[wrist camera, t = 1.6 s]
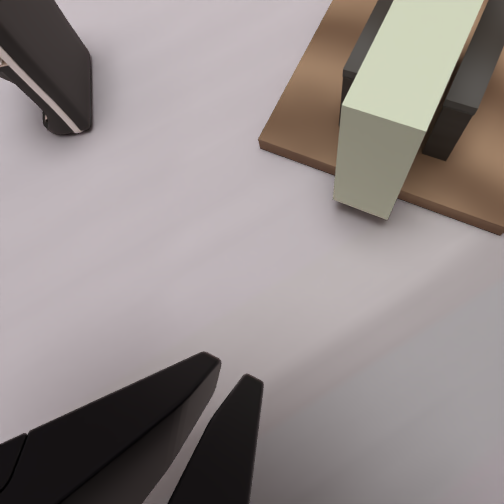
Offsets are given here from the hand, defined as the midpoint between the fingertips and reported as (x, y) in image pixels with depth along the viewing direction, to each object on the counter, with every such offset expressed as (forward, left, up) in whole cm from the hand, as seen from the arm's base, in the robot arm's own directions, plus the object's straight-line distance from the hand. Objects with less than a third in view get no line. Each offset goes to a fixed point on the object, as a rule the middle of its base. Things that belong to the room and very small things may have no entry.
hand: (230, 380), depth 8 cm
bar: (+11, -11, -12) cm, 20 cm away
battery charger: (+22, +8, -14) cm, 27 cm away
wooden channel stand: (+14, -14, -14) cm, 24 cm away
